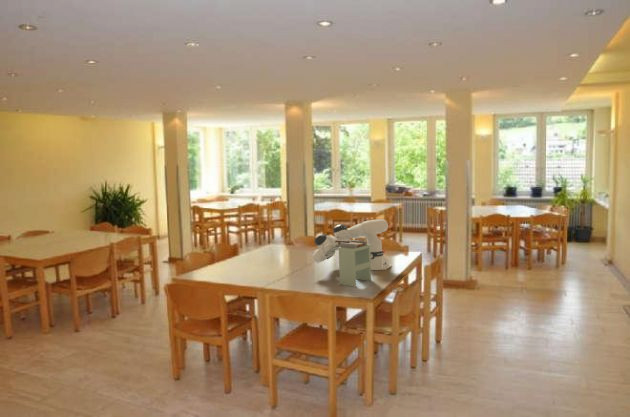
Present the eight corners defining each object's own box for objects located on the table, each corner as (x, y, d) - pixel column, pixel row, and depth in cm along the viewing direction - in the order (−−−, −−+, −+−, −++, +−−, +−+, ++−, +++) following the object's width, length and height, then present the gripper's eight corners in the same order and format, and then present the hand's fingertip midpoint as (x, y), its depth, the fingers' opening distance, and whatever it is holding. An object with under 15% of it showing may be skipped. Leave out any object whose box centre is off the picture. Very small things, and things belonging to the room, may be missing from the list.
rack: (356, 278, 374) (355, 235, 371) (371, 280, 365) (369, 237, 362) (339, 284, 359) (338, 239, 356) (354, 286, 350) (353, 241, 347)
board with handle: (341, 243, 372) (340, 239, 372) (364, 245, 359) (363, 241, 359) (332, 245, 365) (332, 241, 365) (355, 247, 351) (355, 243, 351)
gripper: (339, 251, 381) (352, 243, 372) (322, 256, 365) (335, 248, 357) (336, 244, 382) (348, 236, 374) (318, 248, 367) (331, 240, 358)
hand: (341, 242), depth 365 cm, fingers open, 8 cm apart
